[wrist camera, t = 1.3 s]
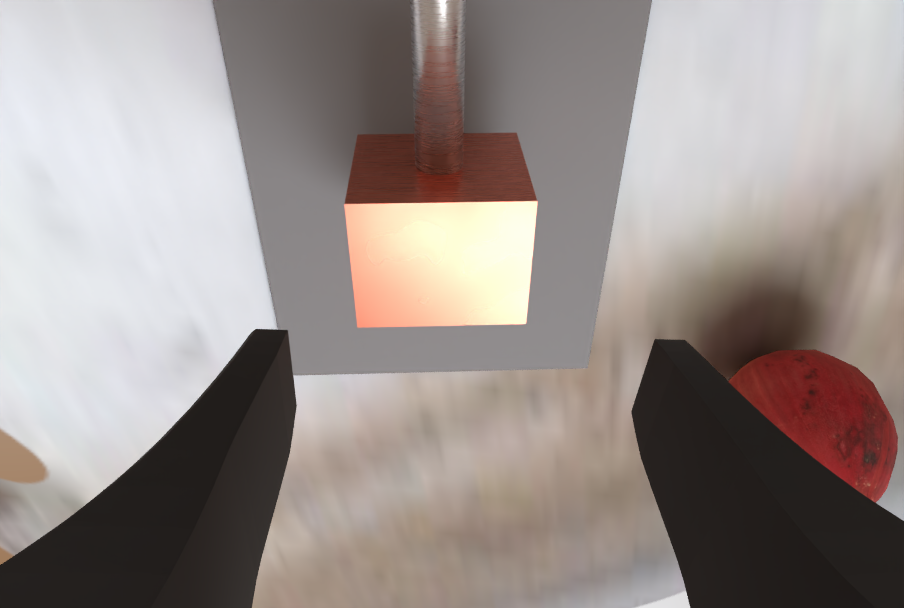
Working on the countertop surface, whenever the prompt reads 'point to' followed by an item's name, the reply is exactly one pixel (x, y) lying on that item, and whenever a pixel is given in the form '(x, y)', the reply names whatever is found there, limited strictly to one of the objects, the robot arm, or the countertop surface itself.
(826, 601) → the robot arm
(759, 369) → the onion
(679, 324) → the countertop surface
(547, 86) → the gray panel
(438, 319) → the copper cube mallet
